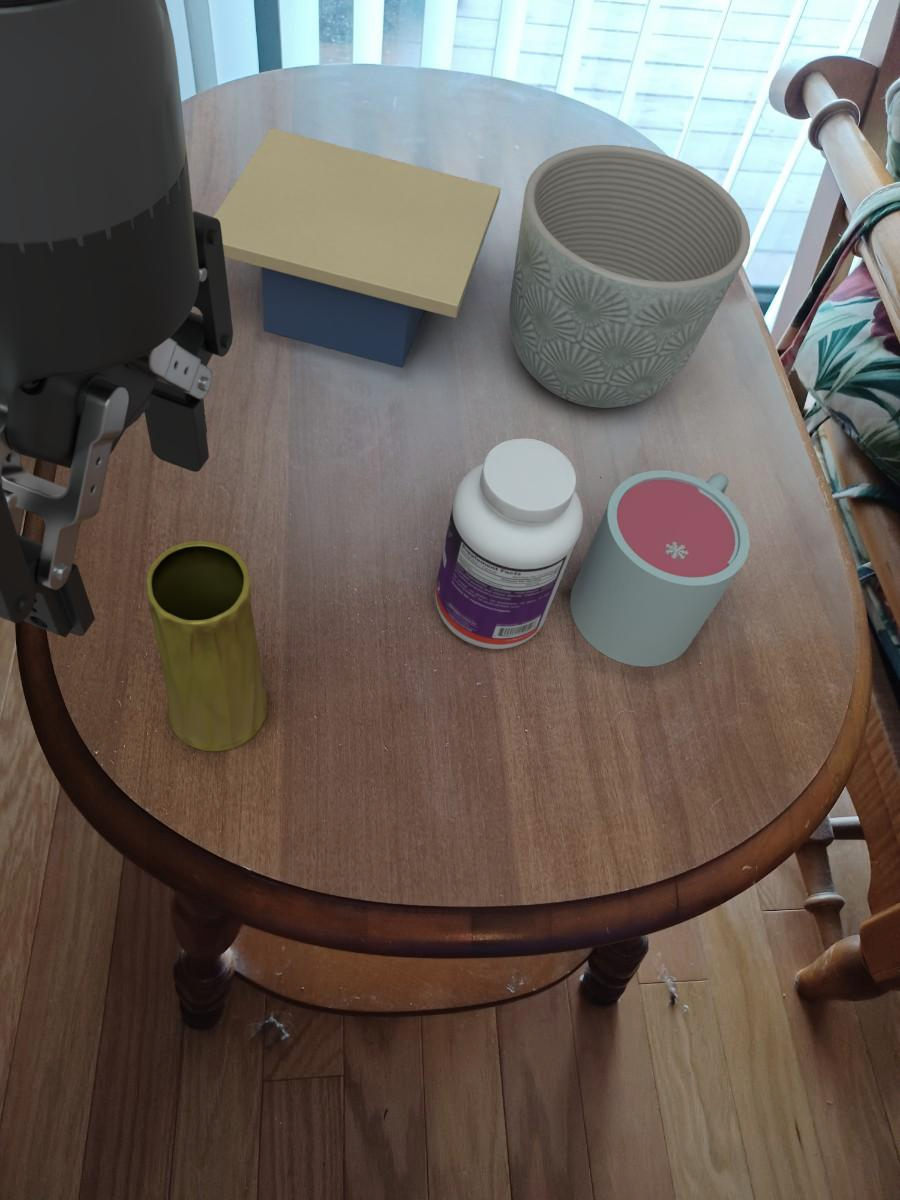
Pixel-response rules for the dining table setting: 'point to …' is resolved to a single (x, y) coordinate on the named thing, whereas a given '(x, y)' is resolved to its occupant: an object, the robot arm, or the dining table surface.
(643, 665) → the mug
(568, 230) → the planter
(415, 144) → the dining table surface
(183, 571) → the vase
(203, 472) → the dining table surface
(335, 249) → the box
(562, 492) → the pill bottle
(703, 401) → the dining table surface
